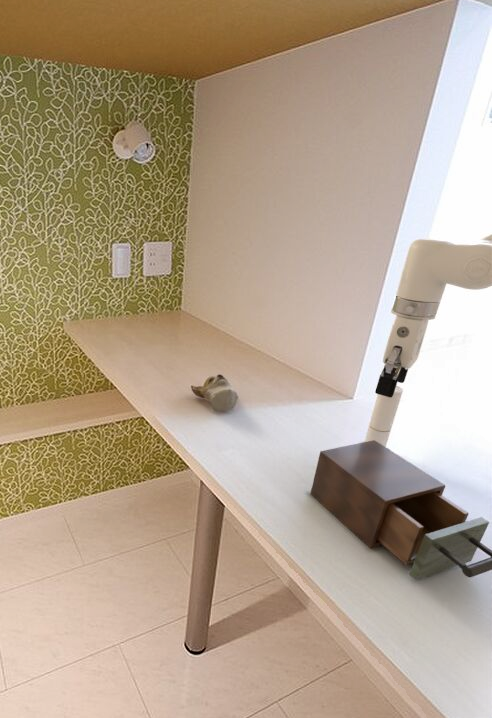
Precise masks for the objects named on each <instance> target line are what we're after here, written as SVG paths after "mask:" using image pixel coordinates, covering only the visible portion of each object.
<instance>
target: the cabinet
mask: <svg viewBox="0 0 492 718" xmlns="http://www.w3.org/2000/svg"><path fill="white" fill-rule="evenodd" d="M445 489H446V484H444V483H442V482H441V481H440V480H438V479H436V478H435V477H433V476H431V475H430V474H429V473H427V472H426V471H424V470H423V469H420V468H419V467H418V466H416V465H414V464H413V463H411V462H410V461H408V460H406V459H405V458H403V457H402V456H400V455H399V454H397V453H396V452H394V451H392V450H391V449H389V448H388V447H387V446H386V447H384V446H383V445H381V444H380V443H378V442H376V441H375V440H373V441H368V442H363V441H362V442H359V443H353V444H349V445H344V446H339V447H334V448H330V449H324V450H320V452H319V455H318V460H317V464H316V468H315V473H314V477H313V481H312V485H311V490H310V495H311V496H312V497H313V498H314V499H315V500H316V501H318V502H319V503H320V504H321V505H322V506H323V507H324V508H325V509H326V510H327V511H328V512H329V513H331V514H332V515H333V516H334V517H335V518H336V519H337V520H338V521H339V522H341V524H343V526H345V527H346V528H347V529H348V530H349V531H351V532H352V533H353V534H354V536H356V537H357V538H358V539H359V541H361V542H363V544H365V546H367V547H368V548H369V549H374V548H377V547H379V546H383V545H382V544H381V543H380V542H379V541H378V540H377V537H378V534H379V531H380V528H381V525H382V522H383V519H384V516H385V513H386V510H387V507H388V504H391V503H395V502H399V501H402V500H406V499H410V498H413V497H417V496H421V495H425V494H428V493H432V492H438V493H439V494H441V495H442V496H443V493H444V491H445Z"/></svg>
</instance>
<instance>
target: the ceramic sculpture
mask: <svg viewBox="0 0 492 718" xmlns="http://www.w3.org/2000/svg"><path fill="white" fill-rule="evenodd" d="M190 387H191V391H192V393H193V394H194V395H195V396H196V397H198V398H202V399H205V400H206V401H207V402H209V403H210V404H211V407H212V408H213V410H214V411H216V412H222V413H225V412H226V413H227V412H228V411H231V410H233V409H234V408H235V407H236V405H237V404H238V399H239V395H238V393H237V391H236V390H235V389H233V388H232V385H231V384H230V382H229V381H228V379H227V377H225V376H223V374H217V375H212V376H209V377H208V378H206V379H205V381H204V383H203V385H198V386H196V385H195V386H194V385H190Z"/></svg>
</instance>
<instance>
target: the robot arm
mask: <svg viewBox="0 0 492 718" xmlns="http://www.w3.org/2000/svg"><path fill="white" fill-rule="evenodd" d="M407 250H408V251H407V254H406V257H405V261H404V264H403V268H402V271H401V275H400V279H399V282H398V285H397V289H396V291H395V292H396V293H395V296H394V298H393V299H394V300H393V303H392V306H391V310H390V313H391V314H393V315H395V318H394V320H393V323H392V326H391V330H390V333H389V335H388V339H387V343H386V346H385V350H384V353H383V357H382V363H383V364H384V366H383V368H382V370H381V373H380V374H379V377H378V380H377V385H376V386H375V387H376V388H375V392H374V393H375V394H376V395H378V394H379V395H383V396H386V397H390V398H391V397H392V396H393V394H394V391H395V388H396V386H398V383H399V384H403V383H404V382H405V381H406V379H407V378H406V377H407V375H408V371H409V369H411V368H412V367H413V366H414V364H415V363H416V362H417V361H418V358H419V356H420V352H421V349H422V345H423V341H424V338H425V335H426V331H427V329H428V324H429V321H431V320H435V319H436V316H437V313H438V310H439V307H440V304H441V301H442V299H443V295H444V293H445V289H446V286H447V285H450V286H455V287H458V288H462V289H466V290H475V291H476V290H478V291H479V290H485V289H487V288H491V287H492V234H489V235H487V236H485V237H482V238H481V239H478V240H476V241H474V242H472V243H470V244H457V243H456V242H454V241H451V240H447V239H441V238H440V239H439V238H417V239H415V240H413V241H412V242H411V243H410V246H409V247H408V249H407Z"/></svg>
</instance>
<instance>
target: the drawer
mask: <svg viewBox="0 0 492 718" xmlns="http://www.w3.org/2000/svg"><path fill="white" fill-rule="evenodd" d="M469 514H470V513H469V511H466V510H465V509H463V508H462V507H461V506H459V505H457V504H456V503H454V502H453V501H452V500H450V499H449V498H447V497H446V496H443V494H442V495H441V494H439V493H438V492H432V493H428V494H425V495H421V496H417V497H413V498H410V499H406V500H402V501H399V502H395V503H391V504H388V507H387V510H386V513H385V516H384V519H383V522H382V525H381V528H380V531H379V534H378V537H377V540H378V541H379V542H380V543H381V544H382V545H381V546H383V547H384V548H386V549H387V550H388V551H389V552H390V553H391V554H392V555H394V556H395V557H396V558H397V559H398V560H400V561H401V562H402V563H403V564H404V565H406V566H407V565H410V564H412V567H411V568H410V571H409V576H410V577H412V578H413V580H415V581H419V580H421V579H424V578H427V577H430V576H433V575H436V574H438V573H441V572H444V571H447V570H449V569H450V570H451V569H453V568H455V567H459V568H460V569H461V571H462V573H463V575H464V576H465V577H467V578H473V577H476V576H479V575H482V574H484V573H487V572H490V571H492V549H490V548H489V547H487V546H486V545H485V544H483V543H482V542H481V541H482V539H483V537H484V535H485V532H486V530H487V528H488V526H489V524H490V521H489V520H487V519H485V518H484V517H482V516H480V517H477V518H474V519H471V520H468V521H466V520H467V519H468V516H469ZM478 549H479V550H481V551H482V552H484V553H485V554H486V555H488V556H489V557H488V558H485V559H482V560H479V561H477V562H474V563H471V564H468V565H467V563H470V562H472V560H473V558H474V555H476V552H477V550H478Z"/></svg>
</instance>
